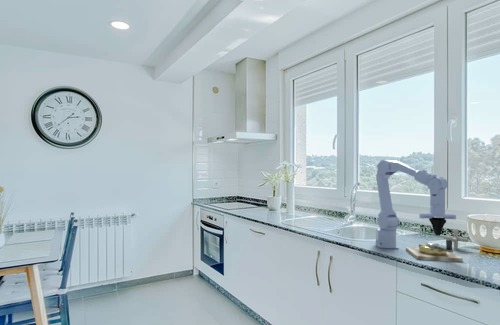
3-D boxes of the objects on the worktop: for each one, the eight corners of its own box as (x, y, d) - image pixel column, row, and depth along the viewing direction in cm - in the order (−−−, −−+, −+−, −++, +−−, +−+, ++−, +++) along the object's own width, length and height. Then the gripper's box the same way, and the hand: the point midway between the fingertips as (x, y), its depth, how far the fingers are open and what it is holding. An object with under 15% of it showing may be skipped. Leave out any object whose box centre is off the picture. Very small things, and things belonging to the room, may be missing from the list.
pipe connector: (445, 245, 163) (445, 226, 164) (468, 248, 157) (468, 228, 157) (442, 249, 156) (442, 229, 156) (466, 252, 149) (466, 231, 150)
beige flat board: (417, 259, 137) (417, 255, 137) (405, 250, 153) (405, 246, 153) (462, 262, 134) (462, 258, 134) (446, 252, 150) (446, 248, 150)
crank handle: (413, 249, 148) (413, 233, 148) (432, 248, 150) (432, 232, 150) (440, 259, 132) (440, 241, 133) (461, 257, 135) (461, 240, 135)
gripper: (424, 205, 137) (424, 236, 137) (459, 205, 135) (459, 237, 135) (417, 203, 144) (417, 233, 144) (451, 204, 142) (451, 234, 142)
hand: (437, 235), depth 140 cm, fingers closed
